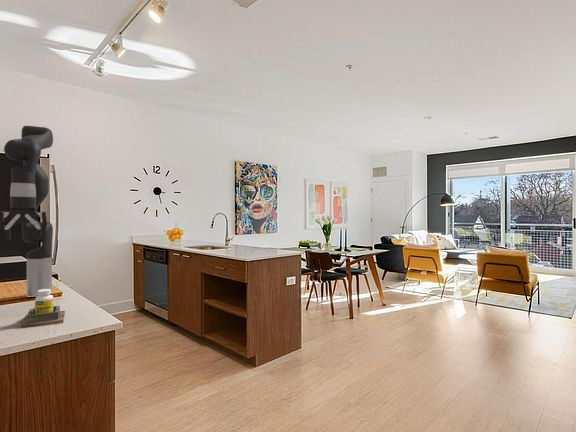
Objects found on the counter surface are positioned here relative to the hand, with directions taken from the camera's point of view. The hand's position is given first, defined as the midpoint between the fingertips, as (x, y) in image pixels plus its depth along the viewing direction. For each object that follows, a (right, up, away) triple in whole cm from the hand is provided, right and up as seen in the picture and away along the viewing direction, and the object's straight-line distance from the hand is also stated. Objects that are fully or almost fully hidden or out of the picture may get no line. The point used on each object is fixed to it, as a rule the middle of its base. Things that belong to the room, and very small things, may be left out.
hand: (23, 239), depth 128 cm
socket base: (+11, -28, -4) cm, 31 cm away
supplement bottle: (+11, -28, -4) cm, 30 cm away
